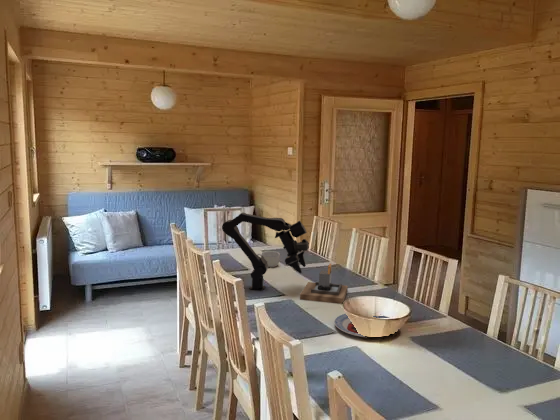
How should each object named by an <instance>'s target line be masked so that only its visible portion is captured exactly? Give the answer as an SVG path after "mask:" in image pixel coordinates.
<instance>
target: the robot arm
mask: <svg viewBox="0 0 560 420" xmlns="http://www.w3.org/2000/svg"><path fill="white" fill-rule="evenodd" d="M243 222H245V223H249V224H255V225H259V226H264V227H267V228H268V229H271V230H272V231H273V230H274V231H276V232H275V236H274V239H277V238H279V240H280V241H281V243H282V246H283V248H282V249H284V250H286V253H287V255H286V257H285V259H284V263H285V265H287V266H289V267H291V268H292V269H293V270H295V271H296V272H298V273H299V274H301V273H302V272H303V271H302V268H301V266H302V267H303V268H305V267H306V266H307V264H306V261H305V256H304V255H305V252H306V251H308V250H309V248H310V246H309V245H310V242H309V241H308V240H307V239H306V238H303V239H301V241H299V242H298V241H297V240H296V239H297V238H299V237H301V236H303V235H305V234H307V233H308V232H307V228H306V227H305V225H304V224H303V223H302V222H301V220H298V221H297V222H295V223H293V224H291V223H288V222H286V221H285V219H284V218H282V217H265V216H259V215H255V214H250V213H247V212H241V213H239V214H238V215H237V216H236V217H234V218H233V219H227V220H226V221H224V222H223V223H222V225H221V230H222V231H223V233H224V234H225V235H226V236H228V237H229V238H231V239H232V240H234V242H235V243H236V244H237V246H238V247H239V248H240V249H241V251H242V252H243V253H244V254H245V256H246V257H247V258H248V260H249V261H250V263H251V266H252V268H253V270H252V272H251V273H250V279H251V286H250V287H249V290H254V289H255V290H256V291H263V289H265V288H266V285H264V275H265V274H266V273H267V271H268V269H269V267H268V264H267V261H266V260H265V259H264V257H263V256H262V257H261V256H260V255H257V254H258V253H256V252H255V250H254V249H253V248H252V246H250V244H249V243H248V242H247V240H246V238H244V236H243V235H242V234H241V233H240V229H239V227H238V225H240V224H241V223H243ZM294 238H296V239H294Z"/></svg>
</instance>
